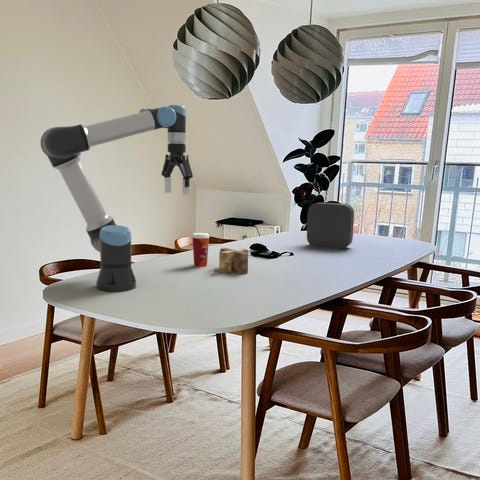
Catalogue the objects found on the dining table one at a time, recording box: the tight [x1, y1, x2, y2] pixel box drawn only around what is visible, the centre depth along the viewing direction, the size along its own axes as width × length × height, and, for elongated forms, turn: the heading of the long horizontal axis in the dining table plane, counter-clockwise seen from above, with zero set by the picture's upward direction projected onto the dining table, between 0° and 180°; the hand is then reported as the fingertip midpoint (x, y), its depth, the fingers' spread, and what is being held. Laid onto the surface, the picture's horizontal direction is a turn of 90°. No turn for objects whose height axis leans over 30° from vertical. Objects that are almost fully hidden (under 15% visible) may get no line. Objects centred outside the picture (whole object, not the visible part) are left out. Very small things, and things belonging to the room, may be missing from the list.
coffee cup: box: [191, 232, 210, 268], centre depth 250 cm, size 8×8×15 cm
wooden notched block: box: [219, 247, 249, 275], centre depth 242 cm, size 16×3×9 cm, turn 40°
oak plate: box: [218, 248, 249, 274], centre depth 242 cm, size 14×3×9 cm, turn 130°
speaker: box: [306, 202, 355, 250], centre depth 305 cm, size 25×9×25 cm, turn 67°
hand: (176, 193), depth 229 cm, fingers open, 13 cm apart
